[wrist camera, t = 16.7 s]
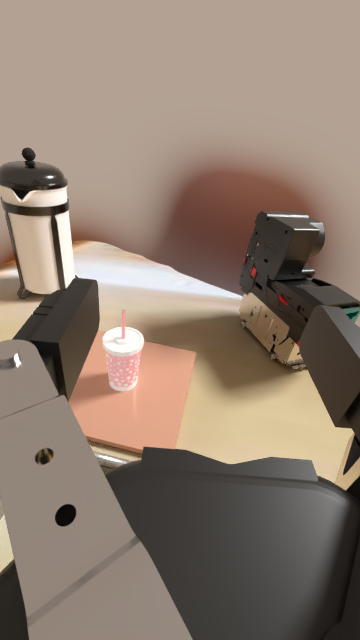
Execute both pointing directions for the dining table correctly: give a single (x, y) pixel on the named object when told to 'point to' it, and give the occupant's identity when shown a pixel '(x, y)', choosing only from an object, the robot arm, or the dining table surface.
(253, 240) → the bill acceptor
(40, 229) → the coffee press
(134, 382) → the beverage cup
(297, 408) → the dining table surface
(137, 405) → the terracotta tile
